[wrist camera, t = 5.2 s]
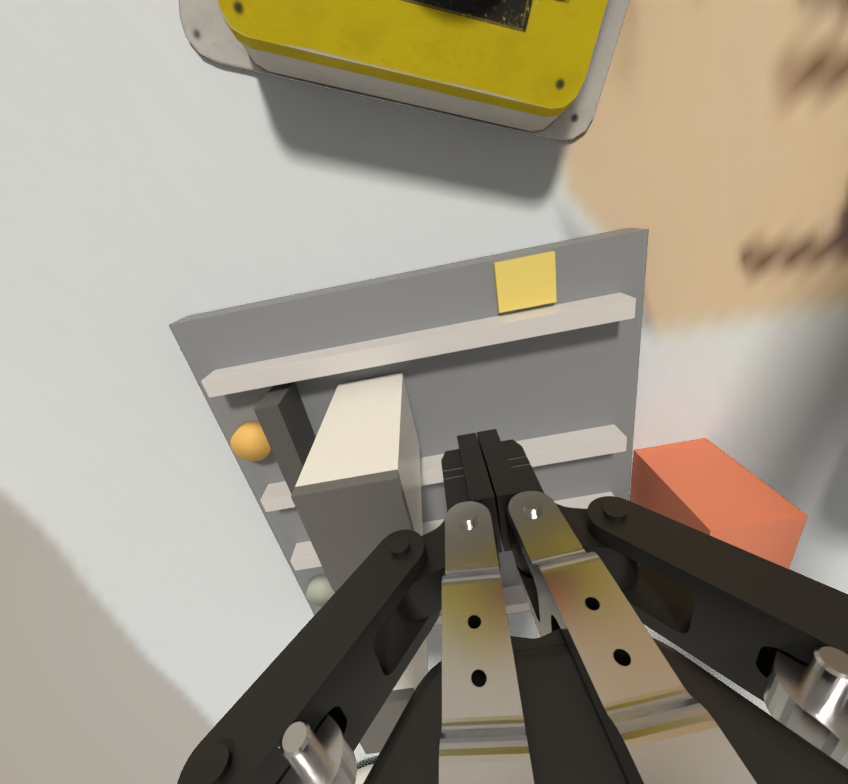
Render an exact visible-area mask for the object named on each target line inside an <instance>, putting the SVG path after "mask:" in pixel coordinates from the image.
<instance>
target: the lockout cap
mask: <svg viewBox="0 0 848 784" xmlns="http://www.w3.org/2000/svg"><path fill="white" fill-rule="evenodd" d="M630 501H631V502H633V503H635V504H638V505H640V506H642V507H645V508H647V509H649V510H652V511H654V512H656V513H659V514H661V515H663V516H666V517H668V518H670V519H673V520H675V521H677V522H680V523H682V524H684V525H687V526H689V527H691V528H694V529H696V530H698V531H701V532H703V533H705V534H708V535H710V536H712V537H715V538H717V539H719V540H722V541H724V542H726V543H729V544H731V545H733V546H736V547H738V548H740V549H743V550H745V551H747V552H750V553H752V554H754V555H757V556H759V557H761V558H764V559H766V560H768V561H771V562H773V563H775V564H778V565H780V566H782V567H785V568H787V569H789V566H790V563H791V561H792V558H793V555H794V552H795V550H796V547H797V544H798V541H799V539H800V536H801V533H802V530H803V527H804V525H805V522H806V519H807V516H808V515H806V514H805V513H804V512H802V511H801V510H800V509H798V508H797V507H796V506H794V505H793V504H792V503H790V502H789V501H788V500H787V499H785V498H784V497H783V496H781V495H780V494H779V493H777V492H776V491H775V490H773V489H772V488H771V487H769V486H768V485H767V484H766V483H764V482H763V481H762V480H760V479H759V478H758V477H756V476H755V475H754V474H752V473H751V472H750V471H748V470H747V469H746V468H744V467H743V466H742V465H741V464H739V463H738V462H737V461H735V460H734V459H733V458H731V457H730V456H729V455H727V454H726V453H725V452H723V451H722V450H721V449H719V448H718V447H717V446H716V445H714V444H713V443H712V442H710V441H709V440H708V439H706V438H702V439H696V440H690V441H684V442H678V443H673V444H667V445H661V446H655V447H649V448H643V449H637V450H634V458H633V470H632V483H631V496H630Z"/></svg>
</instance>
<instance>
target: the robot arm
mask: <svg viewBox="0 0 848 784" xmlns="http://www.w3.org/2000/svg"><path fill="white" fill-rule="evenodd" d="M457 441H458V446H459V449H456V450H450V451H445V453H444V455H443V458H442V460H441V465H442V473H443V481H444V489H445V497H446V505H447V514H446V516H445V519H444V521H443V522H442V524H441V525H440V526H439V527H437V528H436V529H435V530H433V531H431V532H429V533H427V534H425V535H422V536H421V535H420V534H418V533H417V532H415V531H412V530H398V531H395V532H393V533H391V534H389V535H388V536H386V537H385V538H384V539H383V540H382V541H381V542H380V543H379V545H378V546H377V547H376V548H375V549H374V550H373V551H372V552H371V553H370V555H369V556H368V557H367V558H366V559H365V560H364V561H363V562H362V563H361V565H360V566H359V567H358V568H357V569H356V570H355V571H354V572H353V573H352V575H351V576H350V577H349V578H348V579H347V580H346V581H345V582H344V583H343V585H342V586H341V587H340V588H339V589H338V590H337V591H336V592H335V593H334V595H333V596H332V597H331V598H330V599H329V600H328V601H327V602H326V603H325V605H324V606H323V607H322V608H321V609H320V610H319V611H318V612H317V613H316V615H315V616H314V617H313V618H312V619H311V620H310V621H309V622H308V623H307V625H306V626H305V627H304V628H303V629H302V630H301V631H300V632H299V633H298V634H297V636H296V637H295V638H294V639H293V640H292V641H291V642H290V643H289V644H288V646H287V647H286V648H285V649H284V650H283V651H282V652H281V653H280V654H279V656H278V657H277V658H276V659H275V660H274V661H273V662H272V663H271V664H270V666H269V667H268V668H267V669H266V670H265V671H264V672H263V673H262V674H261V676H260V677H259V678H258V679H257V680H256V681H255V682H254V683H253V684H252V686H251V687H250V688H249V689H248V690H247V691H246V692H245V693H244V694H243V696H242V697H241V698H240V699H239V700H238V701H237V702H236V703H235V704H234V706H233V707H232V708H231V709H230V710H229V711H228V712H227V713H226V714H225V716H224V717H223V718H222V719H221V720H220V721H219V722H218V723H217V724H216V725H215V727H214V728H213V729H212V730H211V731H210V732H209V733H208V734H207V736H206V737H205V738H204V739H203V740H202V741H201V742H200V744H199V745H198V746H197V747H196V748H195V749H194V751H193V752H192V754H191V755H190V757H189V758H188V760H187V762H186V764H185V766H184V768H183V770H182V772H181V775H180V777H179V780H178V783H177V784H355V782H356V775H357V764H356V758H355V755H354V750H355V748H356V747H357V745H358V744H359V742H360V741H361V739H362V737H363V736H364V734H365V733H366V731H367V730H368V728H369V726H370V725H371V723H372V722H373V720H374V719H375V717H376V715H377V714H378V712H379V711H380V709H381V708H382V706H383V704H384V703H385V701H386V700H387V698H388V697H389V695H390V693H391V692H392V690H393V689H394V687H395V686H396V684H397V682H398V681H399V679H400V678H401V676H402V675H403V673H404V671H405V670H406V668H407V667H408V665H409V664H410V662H411V660H412V659H413V657H414V656H415V654H416V653H417V651H418V649H419V648H420V646H421V645H422V643H423V642H424V640H425V638H426V637H427V635H428V634H429V632H430V631H431V629H432V627H433V626H434V624H435V623H436V621H437V619H438V618H439V615H440V611H441V610H442V661H441V662H439V663H438V664H437V665H436V666H434V667H433V668H432V669H431V670H430V671H429V672H428V673H427V674H426V675H425V676H424V678H423V679H422V680H421V682H420V683H419V684H418V686H417V687H416V689H415V691H414V692H413V694H412V696H411V698H410V700H409V701H408V703H407V705H406V707H405V709H404V710H403V712H402V714H401V716H400V718H399V719H398V721H397V723H396V725H395V727H394V729H393V730H392V732H391V734H390V736H389V738H388V739H387V741H386V743H385V745H384V747H383V748H382V750H381V752H380V754H379V756H378V757H377V759H376V761H375V763H374V765H373V766H372V768H371V770H370V772H369V774H368V775H367V777H366V779H365V781H364V783H363V784H848V594H846V593H843V592H841V591H839V590H836V589H834V588H832V587H829V586H827V585H825V584H822V583H820V582H818V581H815V580H813V579H811V578H808V577H806V576H804V575H801V574H799V573H796V572H794V571H792V570H789V569H787V568H785V567H782V566H780V565H778V564H775V563H773V562H771V561H768V560H766V559H764V558H761V557H759V556H757V555H754V554H752V553H750V552H747V551H745V550H743V549H740V548H738V547H736V546H733V545H731V544H729V543H726V542H724V541H722V540H719V539H717V538H715V537H712V536H710V535H708V534H705V533H703V532H701V531H698V530H696V529H694V528H691V527H689V526H687V525H684V524H682V523H680V522H677V521H675V520H673V519H670V518H668V517H666V516H663V515H661V514H659V513H656V512H654V511H652V510H649V509H647V508H645V507H642V506H640V505H638V504H635V503H633V502H631V501H628V500H626V499H623V498H620V497H614V496H604V497H599V498H597V499H595V500H593V501H592V502H591V503H590V504H589V506H588V509H582V508H571V507H565V506H562V505H559V504H557V503H555V502H554V500H553V499H552V498H551V497H550V496H548V495H546V494H545V493H544V491H543V489H542V487H541V485H540V483H539V481H538V479H537V477H536V474H535V472H534V470H533V468H532V466H531V465H530V462H529V460H528V458H527V456H526V454H525V451H524V449H523V447H522V446H521V445H520V444H518V443H517V442H516V441H514V440H513V439H511V440H505V441H501V440H500V438H499V435H498V433H497V430H496V429H491V430H486V431H480V432H477V436H476V433H470V434H464V435H459V436H457ZM500 538H501V539H500ZM501 541H502V545H503V549H504V552H505V551H511V550H512V553H513V556H514V559H515V567H516V573H517V576H518V578H519V581H520V584H521V586H522V589H523V591H524V594H525V597H526V599H527V602H528V604H529V607H530V610H531V612H532V615H533V617H534V620H535V623H536V625H537V628H538V631H539V634H540V638H537V639H530V638H521V637H513V636H510V631H509V625H508V618H507V612H506V606H505V600H504V594H503V587H502V581H501V575H500V570H501V566H500V559H499V553H500V552H502V546H501ZM643 624H645V625H646V626H648V627H649V628H651V629H652V630H654V631H655V632H657V633H658V634H660V635H662V636H663V637H665V638H666V639H668V640H669V641H671V642H672V643H674V644H675V645H677V646H679V647H680V648H682V649H683V650H685V651H686V652H688V653H689V654H691V655H692V656H694V657H696V658H697V659H699V660H700V661H702V662H703V663H705V664H706V665H708V666H710V667H711V668H713V669H714V670H716V671H717V672H719V673H720V674H722V675H723V676H725V677H727V678H728V679H730V680H731V681H733V682H734V683H736V684H737V685H739V686H740V687H742V688H744V689H745V690H747V691H748V692H750V693H751V694H753V695H754V696H756V697H757V698H759V699H761V700H762V701H764V702H765V704H766V707H767V709H768V711H769V713H770V714H771V716H770V715H769V714H767V713H766V712H765V711H763V710H762V709H760V708H759V707H757V706H756V705H754V704H753V703H752V702H750V701H749V700H747V699H746V698H744V697H743V696H741V695H740V694H739V693H737V692H736V691H734V690H733V689H731V688H730V687H728V686H727V685H726V684H724V683H723V682H721V681H720V680H718V679H717V678H715V677H714V676H712V675H711V674H710V673H708V672H707V671H705V670H704V669H702V668H701V667H699V666H698V665H697V664H695V663H694V662H692V661H691V660H689V659H688V658H686V657H685V656H684V655H682V654H681V653H679V652H678V651H676V650H675V649H673V648H671V647H669V646H668V645H666V644H664V643H662V642H660V641H658V640H656V639H654V638H652V637H651V635H650V634H649V632H648V631H647V629H646V628H645V626H644V625H643Z"/></svg>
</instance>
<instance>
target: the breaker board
mask: <svg viewBox="0 0 848 784" xmlns="http://www.w3.org/2000/svg"><path fill="white" fill-rule="evenodd" d="M648 233H649V229H637V228H626V229H621V230H616V231H611V232H606V233H601V234H596V235H591V236H586V237H581V238H576V239H571V240H566V241H561V242H556V243H551V244H546V245H541V246H536V247H531V248H526V249H521V250H516V251H511V252H506V253H501V254H496V255H491V256H486V257H481V258H476V259H471V260H466V261H461V262H456V263H451V264H446V265H441V266H435V267H430V268H425V269H420V270H415V271H410V272H405V273H400V274H395V275H390V276H385V277H380V278H375V279H370V280H365V281H360V282H355V283H350V284H345V285H340V286H335V287H330V288H325V289H320V290H315V291H310V292H305V293H300V294H295V295H290V296H285V297H280V298H275V299H270V300H265V301H260V302H255V303H250V304H245V305H240V306H235V307H230V308H225V309H220V310H215V311H210V312H205V313H200V314H195V315H190V316H187V317H185V318H182V319H180V320H178V321H176V322H174V323H172V324H169V327H170V329H171V331H172V333H173V335H174V337H175V339H176V341H177V343H178V345H179V347H180V349H181V351H182V352H183V354H184V356H185V358H186V360H187V362H188V364H189V366H190V368H191V370H192V372H193V374H194V376H195V378H196V380H197V382H198V384H199V386H200V388H201V390H202V392H203V394H204V396H205V398H206V400H207V402H208V404H209V406H210V408H211V410H212V412H213V414H214V416H215V418H216V420H217V422H218V424H219V426H220V428H221V430H222V432H223V434H224V436H225V438H226V440H227V442H228V444H229V446H230V448H231V450H232V452H233V454H234V456H235V458H236V460H237V462H238V464H239V466H240V468H241V470H242V472H243V474H244V476H245V478H246V480H247V482H248V484H249V486H250V488H251V490H252V492H253V494H254V496H255V498H256V500H257V502H258V504H259V506H260V508H261V510H262V512H263V514H264V516H265V518H266V520H267V522H268V524H269V526H270V528H271V530H272V532H273V534H274V536H275V538H276V540H277V542H278V544H279V546H280V548H281V550H282V552H283V554H284V556H285V558H286V560H287V562H288V564H289V565H290V567H291V569H292V571H293V573H294V575H295V577H296V579H297V581H298V583H299V585H300V587H301V589H302V591H303V593H304V595H305V597H306V599H307V601H308V603H309V605H310V607H311V609H312V611H313V613H314V615H316V613H317V612H318V611H319V610H320V609H321V608H322V607H323V606H324V605H325V603H326V602H327V601H328V600H329V599H330V598H331V597H332V596H333V595H334V593H335V592H336V591H337V590H335V591H333V590H332V588H331V586H330V583H329V581H328V579H327V577H326V574H325V572H324V570H323V568H322V565H321V563H320V561H319V559H318V556H317V554H316V552H315V550H314V547H313V545H312V543H311V541H310V539H309V536H308V534H307V532H306V530H305V527H304V525H303V523H302V521H301V518H300V516H299V514H298V512H297V509H296V507H295V505H294V503H293V501H292V498H291V495H292V493H293V490H294V488H295V486H296V483H297V481H298V478H299V476H300V474H301V471H302V469H303V467H304V464H305V462H306V459H307V457H308V455H309V452H310V450H311V448H312V445H313V443H314V441H315V438H316V436H317V433H318V431H319V429H320V426H321V424H322V422H323V419H324V417H325V414H326V412H327V410H328V407H329V405H330V403H331V400H332V398H333V396H334V393H335V391H336V388H337V386H338V385H339V384H344V383H350V382H355V381H360V380H366V379H371V378H376V377H382V376H387V375H393V374H398V373H403V376H404V381H405V385H406V389H407V394H408V398H409V403H410V407H411V411H412V416H413V420H414V424H415V429H416V433H417V437H418V442H419V449H420V476H421V502H422V529H423V535H425V534H427V533H429V532H431V531H433V530H435V529H436V528H437V527H439V526H440V525H441V524H442V522H443V521H444V519H445V516H446V514H447V505H446V497H445V489H444V481H443V473H442V465H441V460H442V458H443V455H444V453H445V451H450V450H456V449H459V446H458V441H457V436H459V435H464V434H470V433H476V436H477V432H480V431H486V430H491V429H496V430H497V433H498V435H499V438H500V440H501V441H505V440H511V439H513V440H514V441H516V442H517V443H518V444H520V445H521V446H522V447H523V449H524V451H525V454H526V456H527V458H528V460H529V462H530V465H531V466H532V468H533V470H534V472H535V474H536V477H537V479H538V481H539V483H540V485H541V487H542V489H543V491H544V493H545V494H546V495H548V496H550V497H551V498H552V499H553V500H554V502H555V503H557V504H559V505H562V506H565V507H571V508H582V509H588V506H589V504H590V503H591V502H592V501H593V500H595V499H597V498H599V497H604V496H614V497H620V498H623V499H626V500H628V501H629V488H630V475H631V461H632V448H633V435H634V421H635V408H636V394H637V381H638V367H639V354H640V340H641V327H642V313H643V300H644V287H645V273H646V260H647V246H648ZM500 539H501V538H500ZM501 546H502V552H500V553H499V559H500V566H501V570H500V575H501V581H502V587H503V594H504V600H505V606H506V612H507V614H512V613H519V612H526V611H531V610H530V607H529V604H528V602H527V599H526V597H525V594H524V591H523V589H522V586H521V584H520V581H519V578H518V576H517V573H516V567H515V559H514V556H513V553H512V550H511V551H505V552H504V549H503V545H502V541H501ZM438 624H442V610H441V611H440V615H439V618H438V619H437V621H436V623H435V624H434V625H438Z"/></svg>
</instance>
